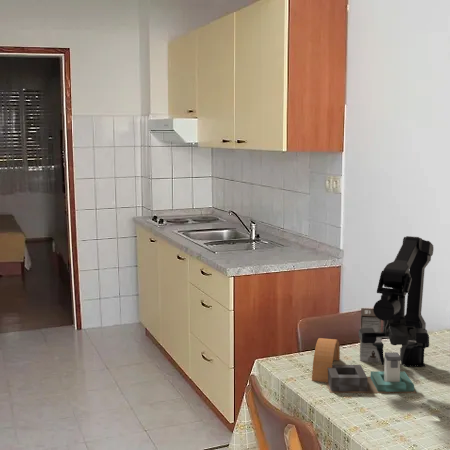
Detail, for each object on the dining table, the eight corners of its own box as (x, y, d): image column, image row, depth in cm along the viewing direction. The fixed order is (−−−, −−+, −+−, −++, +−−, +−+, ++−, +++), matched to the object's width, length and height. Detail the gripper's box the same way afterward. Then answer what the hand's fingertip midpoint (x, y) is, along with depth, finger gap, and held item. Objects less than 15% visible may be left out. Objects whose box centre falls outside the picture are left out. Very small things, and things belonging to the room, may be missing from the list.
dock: (405, 380, 185) (405, 363, 184) (416, 396, 173) (417, 379, 172) (324, 379, 185) (324, 363, 185) (329, 396, 174) (330, 378, 173)
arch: (340, 361, 199) (341, 331, 198) (331, 385, 181) (331, 352, 179) (322, 359, 201) (322, 329, 200) (311, 383, 182) (311, 350, 181)
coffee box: (359, 354, 207) (360, 307, 205) (379, 355, 206) (380, 308, 203) (359, 364, 198) (361, 315, 196) (380, 365, 197) (382, 316, 195)
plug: (396, 382, 181) (397, 352, 179) (400, 388, 176) (401, 357, 175) (383, 382, 181) (384, 352, 180) (387, 388, 177) (388, 357, 175)
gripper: (366, 319, 168) (365, 375, 170) (436, 320, 168) (433, 375, 170) (358, 308, 179) (357, 360, 181) (424, 308, 179) (421, 360, 181)
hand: (392, 364), depth 178 cm, fingers open, 5 cm apart
